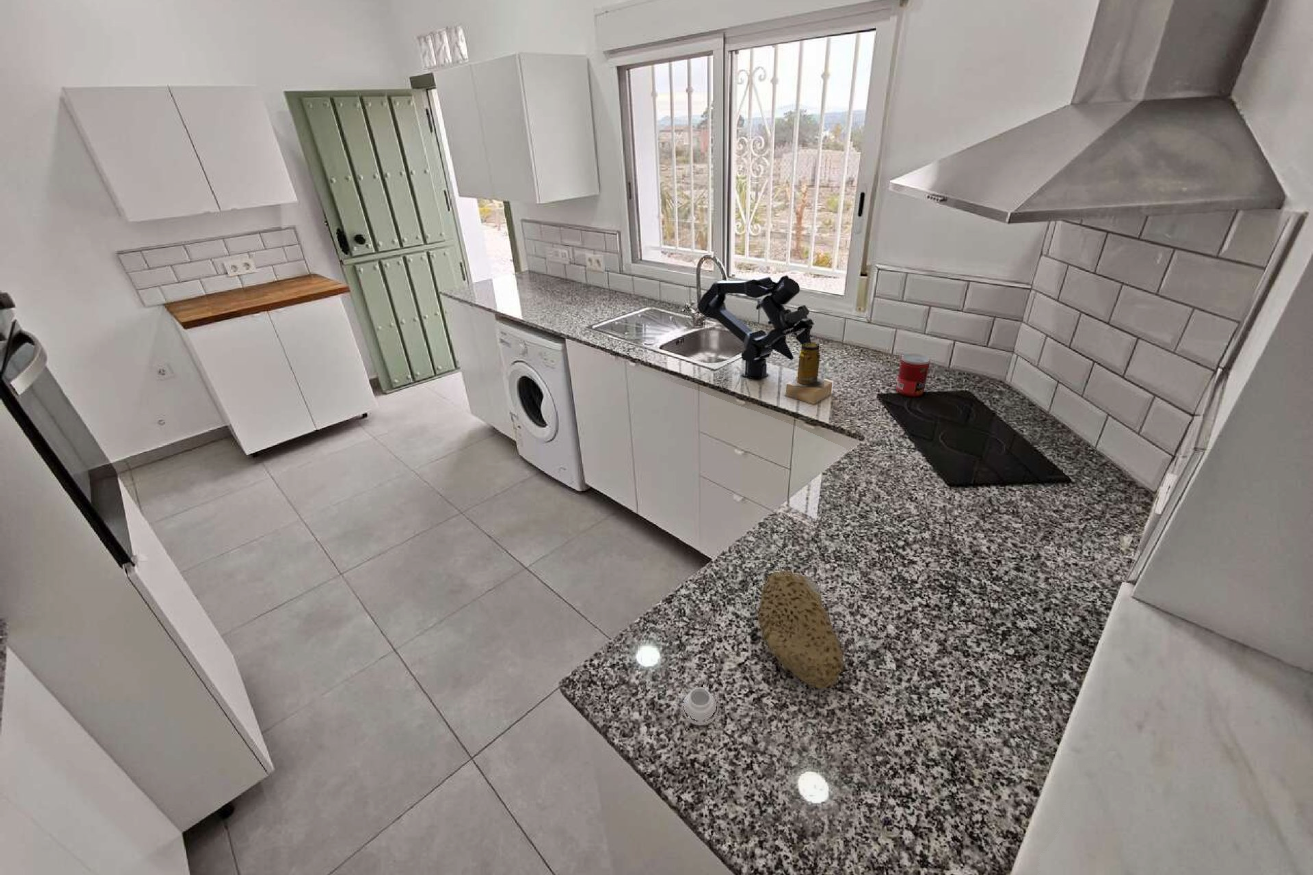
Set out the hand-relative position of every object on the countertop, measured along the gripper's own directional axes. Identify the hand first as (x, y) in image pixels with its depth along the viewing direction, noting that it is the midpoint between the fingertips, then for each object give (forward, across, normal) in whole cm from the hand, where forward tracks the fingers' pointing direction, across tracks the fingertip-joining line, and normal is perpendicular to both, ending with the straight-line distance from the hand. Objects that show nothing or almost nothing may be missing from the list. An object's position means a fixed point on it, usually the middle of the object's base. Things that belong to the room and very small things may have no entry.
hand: (802, 355), depth 165 cm
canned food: (+25, +24, -8) cm, 36 cm away
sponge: (+51, -78, -35) cm, 100 cm away
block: (+11, 0, +6) cm, 13 cm away
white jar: (+50, -98, -34) cm, 116 cm away
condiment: (+8, 0, +3) cm, 9 cm away
